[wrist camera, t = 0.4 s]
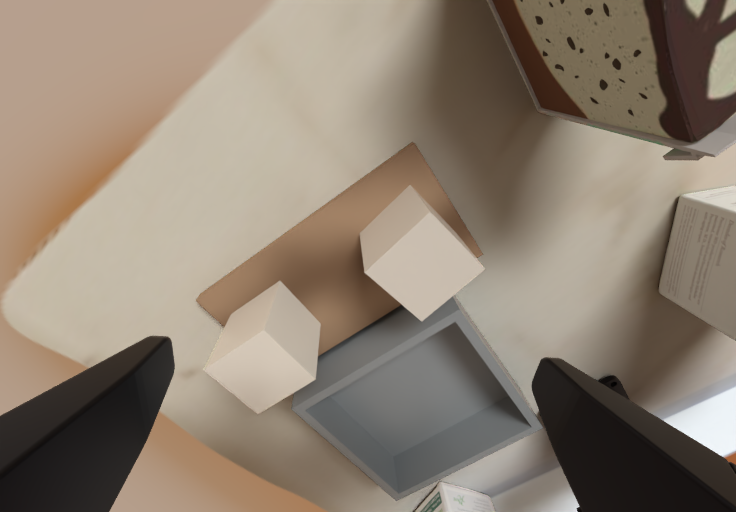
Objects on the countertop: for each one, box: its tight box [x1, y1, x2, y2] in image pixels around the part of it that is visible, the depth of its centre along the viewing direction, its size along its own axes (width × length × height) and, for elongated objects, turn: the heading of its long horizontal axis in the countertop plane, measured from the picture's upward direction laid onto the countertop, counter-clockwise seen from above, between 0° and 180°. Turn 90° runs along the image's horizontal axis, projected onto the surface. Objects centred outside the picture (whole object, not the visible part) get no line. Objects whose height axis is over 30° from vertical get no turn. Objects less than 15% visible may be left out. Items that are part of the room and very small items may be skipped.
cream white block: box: [360, 185, 485, 322], centre depth 19 cm, size 4×4×5 cm
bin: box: [291, 295, 543, 501], centre depth 25 cm, size 12×12×4 cm
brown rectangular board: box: [196, 142, 483, 356], centre depth 22 cm, size 8×16×1 cm, turn 125°
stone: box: [203, 281, 321, 414], centre depth 21 cm, size 4×4×5 cm
